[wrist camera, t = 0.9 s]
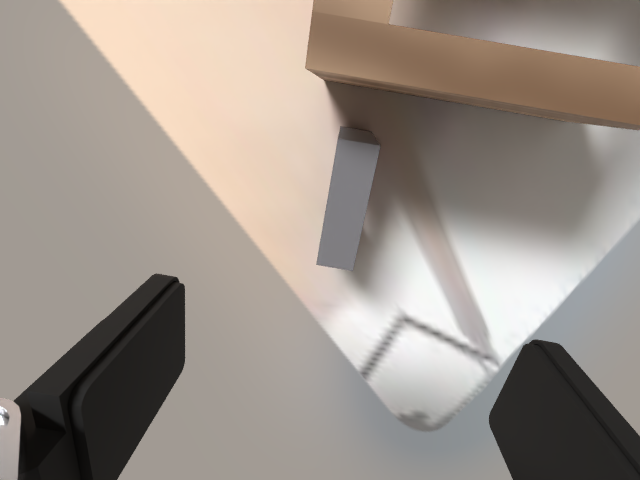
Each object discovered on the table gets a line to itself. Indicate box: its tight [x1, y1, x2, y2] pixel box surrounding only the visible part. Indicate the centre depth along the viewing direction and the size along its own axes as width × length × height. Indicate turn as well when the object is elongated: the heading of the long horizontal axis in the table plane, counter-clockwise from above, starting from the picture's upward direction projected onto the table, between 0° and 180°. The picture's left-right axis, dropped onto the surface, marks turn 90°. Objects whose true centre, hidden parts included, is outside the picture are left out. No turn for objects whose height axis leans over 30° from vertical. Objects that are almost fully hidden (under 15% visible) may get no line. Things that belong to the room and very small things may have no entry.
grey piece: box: [316, 127, 380, 271], centre depth 24 cm, size 8×2×8 cm, turn 171°
